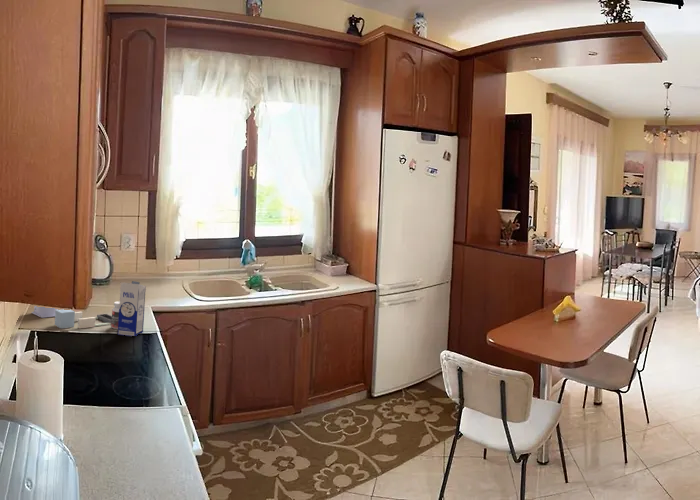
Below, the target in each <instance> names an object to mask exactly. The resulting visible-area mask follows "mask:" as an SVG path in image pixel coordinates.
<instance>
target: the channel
mask: <svg viewBox="0 0 700 500" xmlns="http://www.w3.org/2000/svg"><path fill="white" fill-rule="evenodd" d="M96 320H99V319H98V317H97V316H95V317H94V316H91V317H83V311H75V318H74V323H76V322H77V329H85V328H86V329H87V328H94V327H104V326H111V323H106V322H102V323H101V322H100V323H96Z"/></svg>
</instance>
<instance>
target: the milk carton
mask: <svg viewBox="0 0 700 500" xmlns="http://www.w3.org/2000/svg"><path fill="white" fill-rule="evenodd" d="M119 284H120V287H119V288H120V290H119V301H120V303H119V320H118V329H117V335H118V336H124V335H125V336H126V337H132V336H136V337H138V336H139V335H138V334H140V333H142V332H143V333H144V320H145V306H146V305H145V303H146V290H147V289H146V287H147V286H146V285H143V284H141V283H140V282H139V281H133V280H132V281H131V283H129V282H120V283H119ZM143 333H142V334H143ZM137 335H138V336H137ZM140 335H141V334H140ZM125 336H124V337H125Z"/></svg>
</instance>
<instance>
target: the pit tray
mask: <svg viewBox="0 0 700 500" xmlns="http://www.w3.org/2000/svg"><path fill="white" fill-rule="evenodd" d="M96 317H98V319H97V320H99V321H101V322H103V323H111V322H112V314H111V315H110V314H108V313H101V314H97V315H96Z"/></svg>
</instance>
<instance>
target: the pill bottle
mask: <svg viewBox="0 0 700 500" xmlns="http://www.w3.org/2000/svg"><path fill="white" fill-rule="evenodd" d="M119 303H120V300H119V301H114V302H113V306H114V307H113V308H112V310H111V316H112V322H111V325H110V326H111V328H112V329H115V330H118V320H119Z"/></svg>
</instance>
